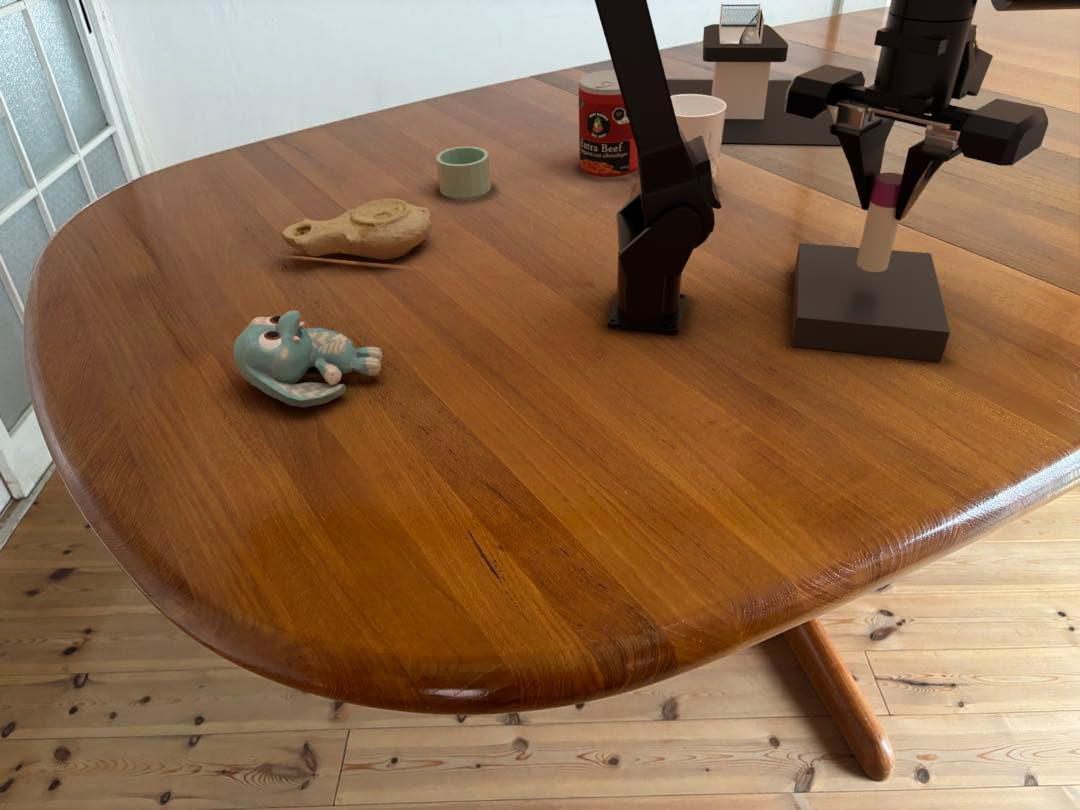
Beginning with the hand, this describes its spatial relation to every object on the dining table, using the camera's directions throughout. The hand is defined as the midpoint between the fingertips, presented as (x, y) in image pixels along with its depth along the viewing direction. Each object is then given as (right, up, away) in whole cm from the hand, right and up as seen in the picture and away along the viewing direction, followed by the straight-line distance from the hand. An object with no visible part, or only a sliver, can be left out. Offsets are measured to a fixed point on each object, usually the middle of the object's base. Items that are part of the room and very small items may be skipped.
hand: (883, 213), depth 69 cm
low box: (0, -8, +6) cm, 10 cm away
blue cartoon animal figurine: (-48, -14, +1) cm, 50 cm away
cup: (-38, +10, +31) cm, 50 cm away
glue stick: (0, -4, +3) cm, 5 cm away
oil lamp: (-47, 0, +19) cm, 51 cm away
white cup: (-12, +10, +29) cm, 33 cm away
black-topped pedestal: (0, +27, +51) cm, 58 cm away
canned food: (-20, +14, +35) cm, 43 cm away
